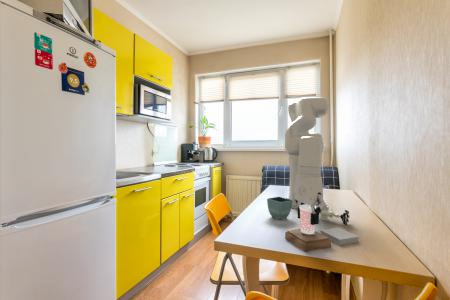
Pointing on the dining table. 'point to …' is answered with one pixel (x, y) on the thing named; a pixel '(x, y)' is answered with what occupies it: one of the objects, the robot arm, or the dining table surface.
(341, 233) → the grey stand
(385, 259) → the dining table surface
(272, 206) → the flower pot
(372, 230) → the dining table surface
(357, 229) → the dining table surface
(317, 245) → the walnut stand
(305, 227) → the beverage cup
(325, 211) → the valve
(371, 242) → the dining table surface
